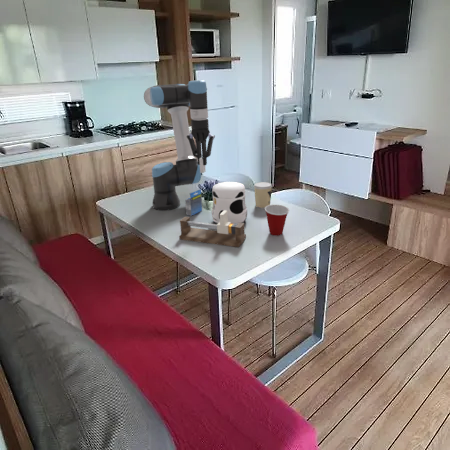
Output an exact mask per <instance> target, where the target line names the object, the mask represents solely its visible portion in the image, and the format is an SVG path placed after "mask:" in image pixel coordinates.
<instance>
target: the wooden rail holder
mask: <svg viewBox="0 0 450 450" xmlns="http://www.w3.org/2000/svg"><path fill="white" fill-rule="evenodd" d="M190 218H191V216H184V217H182V218H181V219H180V220H179V226H180V233H181V234H180V235H179V236H178V237H179V240H182V241H188V242H196V243H203V244H204V243H205V244H211V245H218V246H227V247H231V248H232V247H233V248H240V246H241V245H242V244H243V243H244V242H245V239H246V238H247V234H245V223H244V222H243V223H238V224H237V226H236V227H235V234H232V233H229V234H222V233H217V230H215V229H207V228H199V227H198V228H197V227H196V228H195V227H192V226H187V222H188V221H191V219H190Z"/></svg>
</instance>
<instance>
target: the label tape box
mask: <svg viewBox="0 0 450 450" xmlns="http://www.w3.org/2000/svg"><path fill="white" fill-rule="evenodd" d="M189 196H190V197H189V198H186V199H185V214H187V216H189V215H190V216H189V217H192V215H193V216H194V215H196V214H198V213H200V212H202V211H203V207H202V206H203V205H202V204H203V203H202V202H203V201H202V200H203V199H202V189H198V190H194V191H192V192H190V193H189Z"/></svg>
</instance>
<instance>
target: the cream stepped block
mask: <svg viewBox="0 0 450 450" xmlns="http://www.w3.org/2000/svg"><path fill="white" fill-rule="evenodd" d="M216 224H217V223H216ZM230 224H231V222H228V216H227V211H225V210H224V211H223V212H222V213H221V214H220V222H219V223H218V224H217V229H216V231H217V233H222V234H229V228H228V226H229V225H230Z"/></svg>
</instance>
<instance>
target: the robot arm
mask: <svg viewBox="0 0 450 450" xmlns="http://www.w3.org/2000/svg"><path fill="white" fill-rule="evenodd" d="M207 90H208V88H207V82H206V80H203V79H200V80H199V79H198V80H197V79H196V80H190V81H188V83H187V84H184V83H174V84H173V83H171V84H156V85H153V86H149V87H148V88H147V89H146V90H145V91H144V92H143V99H144V102H145V104H147V105H148V106H149V107H153V108H157V109H167V112H168V113H169V114H170V117H171V123H172V128H173V129H172V130H173V136H174V143H175V148H176V154H177V159H176V160H175V164H174V163H173V162H172V161H168V162H160V163H157V164H155V165H154V166H153V167H152V168H151V177H152V185H153V191H154V192H153V193H154V194H153V197H152V207H154V208H153V209H155V210H157V209H159V211H167V210H168V209H169V210H173V209H176V208H178V207H180V206H181V200H180V198H179V195H178V193H177V191H176V187H180V186H189V185H194V184H198V183H200V182H201V179H202V174H204V173H205V172H206V166H207V164H208V161H207V160H208V158H209V157H210V156H211V154H212V148H213V142H214V140H215V137H216V135H214V134H212V133H211V132H210V129H209V127H210V125H209V119H208V118H209V111H208V93H207ZM189 110H190V111H189ZM188 111H189V112H190V119H191V120H190V125H189V119H188ZM190 126H191V131H190ZM207 139H208V140H207ZM169 210H168V211H169Z"/></svg>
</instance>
